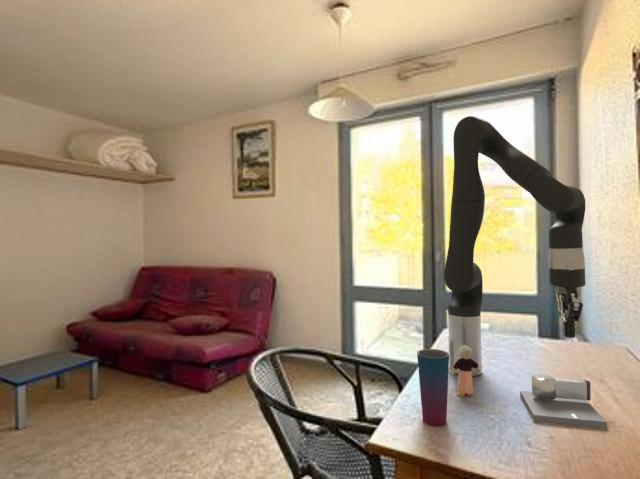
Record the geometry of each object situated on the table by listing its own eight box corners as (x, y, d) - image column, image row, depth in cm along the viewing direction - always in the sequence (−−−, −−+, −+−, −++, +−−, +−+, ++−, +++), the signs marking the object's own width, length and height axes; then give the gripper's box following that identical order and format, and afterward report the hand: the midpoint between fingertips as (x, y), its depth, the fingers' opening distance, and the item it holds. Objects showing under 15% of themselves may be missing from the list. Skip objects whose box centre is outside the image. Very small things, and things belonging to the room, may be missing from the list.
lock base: (533, 421, 83) (533, 414, 83) (520, 396, 96) (520, 390, 96) (608, 429, 79) (608, 421, 79) (583, 402, 92) (583, 395, 92)
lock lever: (534, 398, 89) (534, 381, 89) (529, 390, 94) (529, 373, 94) (594, 403, 86) (594, 385, 86) (586, 394, 91) (585, 377, 91)
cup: (426, 411, 89) (424, 347, 89) (455, 419, 85) (453, 352, 85) (413, 422, 84) (411, 354, 84) (443, 431, 80) (441, 360, 80)
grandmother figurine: (458, 399, 96) (457, 348, 96) (449, 393, 100) (448, 344, 100) (484, 395, 98) (483, 345, 98) (474, 389, 102) (473, 341, 102)
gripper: (541, 265, 102) (544, 330, 102) (557, 268, 89) (560, 343, 89) (574, 264, 100) (576, 331, 100) (594, 268, 87) (598, 344, 87)
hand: (569, 336), depth 94 cm, fingers closed
